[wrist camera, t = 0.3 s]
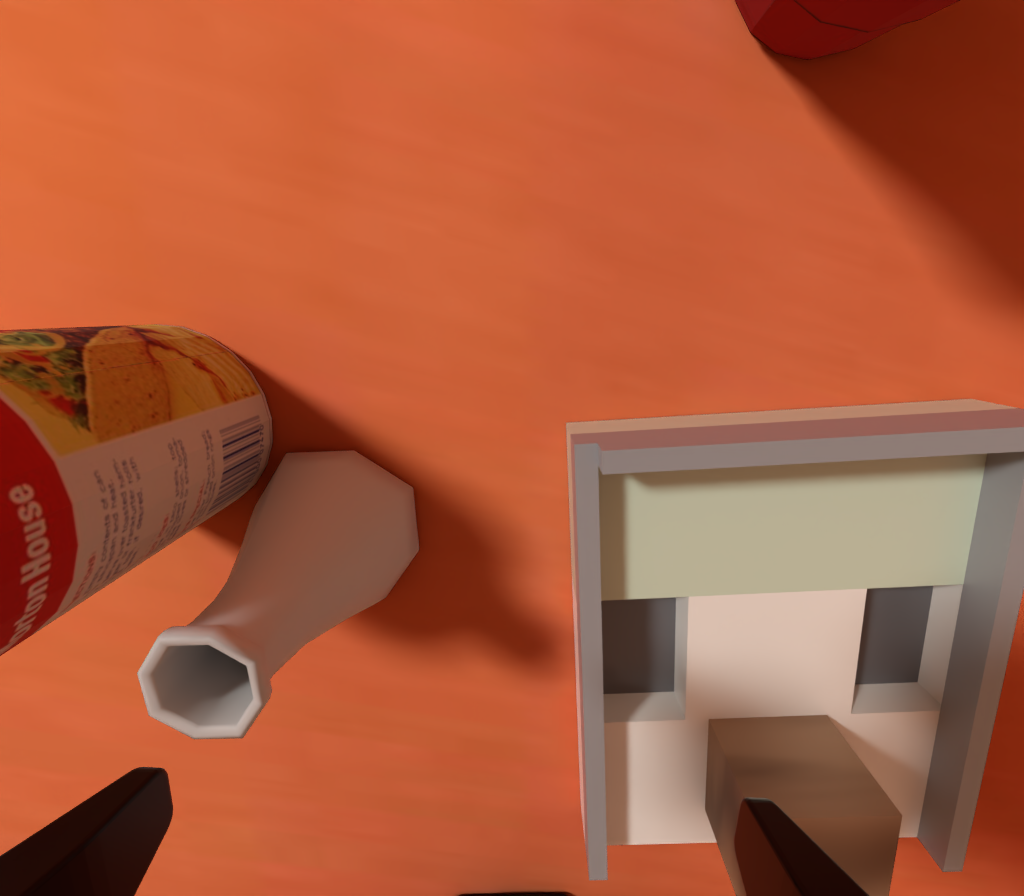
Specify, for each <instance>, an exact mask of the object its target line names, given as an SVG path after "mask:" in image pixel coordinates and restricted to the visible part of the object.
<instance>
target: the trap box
mask: <svg viewBox="0 0 1024 896" xmlns="http://www.w3.org/2000/svg"><path fill="white" fill-rule="evenodd" d="M566 435H567V460H568V486H569V512H570V538H571V564H572V590H573V615H574V641H575V667H576V693H577V719H578V745H579V770H580V796H581V811H582V820H583V829H584V838H585V846H586V855H587V864H588V872H589V880H608V878H607V845H639V844H676V843H714V842H717V841H716V839H715V836H714V833H713V830H712V828H711V825H710V822H709V819H708V817H707V814H706V811H705V795H706V772H707V748H708V724H709V719H724V718H752V717H779V716H807V715H828V717H829V718H830V719H831V721H832V722H833V723H834V725H835V726H836V727H837V729H838V730H839V731H840V733H841V734H842V735H843V737H844V738H845V739H846V741H847V742H848V743H849V745H850V746H851V747H852V749H853V750H854V751H855V753H856V754H857V755H858V757H859V758H860V759H861V761H862V762H863V763H864V765H865V766H866V767H867V769H868V770H869V771H870V773H871V774H872V775H873V777H874V778H875V779H876V781H877V782H878V783H879V785H880V786H881V787H882V789H883V790H884V791H885V793H886V794H887V795H888V797H889V798H890V799H891V801H892V802H893V803H894V805H895V806H896V807H897V809H898V810H899V811H900V813H901V814H902V821H901V827H900V833H899V838H901V837H917V838H918V839H919V840H920V842H921V843H922V844H923V846H924V847H925V848H926V850H927V851H928V853H929V854H930V855H931V857H932V858H933V859H934V861H935V862H936V863H937V865H938V866H939V867H940V869H941V870H942V871H943V872H955V871H962V869H963V864H964V860H965V855H966V851H967V846H968V842H969V837H970V832H971V828H972V823H973V819H974V814H975V809H976V805H977V800H978V796H979V791H980V787H981V782H982V777H983V773H984V768H985V764H986V759H987V754H988V750H989V745H990V741H991V736H992V732H993V727H994V722H995V718H996V713H997V709H998V704H999V699H1000V695H1001V690H1002V686H1003V681H1004V676H1005V672H1006V667H1007V663H1008V658H1009V654H1010V649H1011V644H1012V640H1013V635H1014V631H1015V626H1016V621H1017V617H1018V612H1019V608H1020V603H1021V599H1022V594H1023V589H1024V409H1020V408H1015V407H1010V406H1005V405H1000V404H995V403H990V402H985V401H980V400H974V399H960V400H943V401H926V402H909V403H892V404H875V405H858V406H841V407H824V408H807V409H790V410H773V411H756V412H739V413H722V414H705V415H688V416H671V417H654V418H637V419H620V420H603V421H587V422H570V423H566Z"/></svg>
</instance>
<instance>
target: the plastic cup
mask: <svg viewBox="0 0 1024 896" xmlns="http://www.w3.org/2000/svg"><path fill="white" fill-rule="evenodd" d="M958 1H960V0H735V2H736V4H737V6H738V8H739V10H740V12H741V14H742V16H743V18H744V20H745V22H746V24H747V26H748V28H749V30H750V32H751V33H752V34H753V35H754V36H756V37H757V38H758V39H759V40H760V41H762V42H763V43H764V44H765V45H767V46H768V47H769V48H770V49H772V50H773V51H774V52H775V53H778V54H783V55H788V56H792V57H797V58H802V59H806V60H808V59H812V58H816V57H821V56H825V55H829V54H834V53H838V52H842V51H846V50H850V49H854V48H856V47H858V46H860V45H862V44H864V43H866V42H868V41H870V40H872V39H874V38H876V37H878V36H880V35H882V34H884V33H886V32H888V31H890V30H892V29H894V28H896V27H898V26H900V25H902V24H905V23H909V22H913V21H917V20H920V19H922V18H924V17H926V16H928V15H930V14H933V13H935V12H937V11H939V10H941V9H943V8H945V7H947V6H949V5H951V4H953V3H955V2H958Z"/></svg>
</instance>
